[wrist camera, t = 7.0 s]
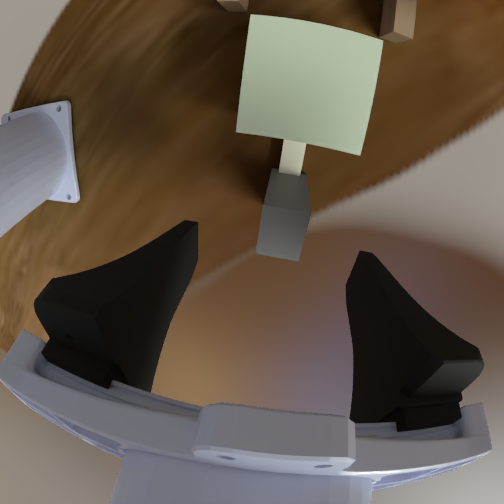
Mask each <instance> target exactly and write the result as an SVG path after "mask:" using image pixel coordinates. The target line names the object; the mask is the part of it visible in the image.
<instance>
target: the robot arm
mask: <svg viewBox="0 0 504 504" xmlns="http://www.w3.org/2000/svg"><path fill="white" fill-rule="evenodd" d="M60 106H61V110H60ZM70 196H71V197H70ZM46 200H55V201H63V202H71V203H76V202H77V201H79V200H80V193H79V187H78V180H77V173H76V165H75V157H74V147H73V135H72V118H71V103H70V102H69V101H68V100H65V101H59V102H54V103H49V104H44V105H39V106H35V107H30V108H26V109H22V110H19V111H15V112H11V113H8V114H5V115H3V117H2V125H0V238H1V237H2V236H3V235H4V234H5V233H6V232H7V231H8V230H10V229H11V228H12V227H13V226H14V225H15V224H17V223H18V222H19V221H20V220H21V219H23V218H24V217H25V216H26V215H27V214H29V213H30V212H31V211H32V210H34V209H35V208H36V207H38V206H39V205H40V204H42V203H43V202H44V201H46ZM197 261H198V222H193V221H187V220H185V221H183V222H181V223H180V224H178V225H176V226H175V227H173V228H172V229H170V230H169V231H167V232H166V233H164V234H162V235H161V236H159V237H158V238H156V239H155V240H153V241H151V242H150V243H148V244H146V245H144V246H143V247H141V248H139V249H138V250H136V251H134V252H132V253H130V254H128V255H126V256H124V257H121V258H119V259H117V260H115V261H112V262H109V263H107V264H104V265H102V266H99V267H96V268H93V269H90V270H87V271H83V272H80V273H76V274H72V275H67V276H62V277H58V278H52V279H51V280H50V282H49V283H48V284H47V285H46V287H45V288H44V289H43V290H42V292H41V293H40V294H39V295H38V297H37V298H36V299H35V301H34V308H35V312H36V315H37V317H38V319H39V320H40V322H41V324H42V325H43V327H44V329H45V331H46V332H47V334H48V335H49V337H50V339H49V340H48V342H47V344H46V343H45V342H44V341H43V340H42V339H40V338H39V337H37V336H35V335H33V334H31V333H29V332H27V331H26V330H22V332H21V333H20V335H19V336H18V338H17V339H16V341H15V342H14V344H13V345H12V347H11V348H10V350H9V352H8V353H7V355H6V356H5V358H4V360H3V361H2V363H1V365H0V381H1V382H2V383H3V384H4V385H5V386H6V387H7V388H8V389H9V390H10V391H11V392H12V393H13V394H15V396H17V397H18V398H19V399H20V400H21V401H22V402H23V403H24V404H26V405H27V406H28V407H30V408H31V409H33V410H34V411H36V412H37V413H39V414H40V415H42V416H43V417H45V418H47V419H48V420H50V421H51V422H53V423H55V424H56V425H58V426H59V427H61V428H63V429H64V430H66V431H68V432H70V433H71V434H73V435H75V436H77V437H79V438H80V439H82V440H84V441H86V442H88V443H90V444H92V445H94V446H96V447H98V448H100V449H102V450H104V451H106V452H108V453H111V454H113V455H115V456H117V457H120V458H122V459H123V461H122V463H121V467H120V470H119V473H118V476H117V479H116V482H115V485H114V489H113V492H112V496H111V499H110V502H109V504H371V503H372V490H375V489H382V488H387V487H392V486H397V485H401V484H406V483H410V482H414V481H418V480H422V479H426V478H430V477H433V476H436V475H439V474H443V473H446V472H449V471H453V470H455V469H457V468H460V467H462V466H464V465H466V464H468V463H470V462H472V461H474V460H476V459H478V458H480V457H482V456H484V455H485V454H487V453H489V452H491V450H492V446H491V440H490V434H489V430H488V425H487V420H486V416H485V411H484V407H483V403H481V402H480V403H475V404H470V405H466V406H463V407H461V408H460V406H459V402H460V401H462V394H461V392H462V391H463V390H464V389H465V388H466V387H468V386H469V385H470V384H471V383H472V382H473V381H474V380H475V379H476V378H477V377H478V376H479V375H480V374H481V372H482V370H483V368H484V362H483V359H482V357H481V354H480V351H479V349H478V348H477V347H476V346H474V345H472V344H470V343H468V342H467V341H465V340H464V339H462V338H460V337H459V336H457V335H456V334H455V333H453V332H452V331H450V330H449V329H447V328H446V327H445V326H443V325H442V324H441V323H439V322H438V321H437V320H436V319H435V318H433V317H432V316H431V315H430V314H429V313H428V312H426V311H425V310H424V309H423V308H422V307H421V306H420V305H419V304H418V303H417V302H416V301H415V300H414V299H413V298H412V297H411V296H410V295H409V294H408V293H407V292H406V290H405V289H404V288H403V287H402V286H401V285H400V284H399V283H398V281H397V280H396V279H395V278H394V277H393V276H392V275H391V273H390V272H389V271H388V270H387V269H386V267H385V266H384V265H383V264H382V263H381V262H380V261H379V259H378V258H377V257H376V256H375V255H374V254H372V253H370V252H365V251H359V254H358V257H357V259H356V262H355V264H354V267H353V269H352V271H351V274H350V277H349V278H348V281H347V283H346V305H347V311H348V317H349V324H350V330H351V337H352V344H353V360H354V361H353V364H354V365H353V366H354V367H353V371H354V372H353V392H352V404H351V412H350V419H348V418H347V417H345V416H340V415H333V414H322V413H307V412H295V411H285V410H276V409H269V408H261V407H255V406H247V405H242V404H230V403H216V404H209V405H207V406H204V407H202V406H197V405H193V404H189V403H185V402H181V401H177V400H174V399H170V398H167V397H163V396H160V395H156V394H153V393H151V389H152V385H153V380H154V376H155V372H156V368H157V364H158V360H159V357H160V353H161V350H162V347H163V343H164V340H165V337H166V334H167V331H168V328H169V325H170V322H171V320H172V318H173V315H174V313H175V311H176V309H177V307H178V305H179V303H180V301H181V299H182V297H183V295H184V293H185V291H186V289H187V287H188V285H189V283H190V280H191V278H192V276H193V273H194V270H195V267H196V264H197Z"/></svg>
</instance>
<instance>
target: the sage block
mask: <svg viewBox="0 0 504 504" xmlns="http://www.w3.org/2000/svg"><path fill="white" fill-rule="evenodd" d="M382 46H383V41H382V40H379V39H376V38H373V37H370V36H367V35H363V34H360V33H356V32H353V31H349V30H345V29H341V28H337V27H333V26H329V25H324V24H319V23H314V22H309V21H303V20H297V19H291V18H283V17H275V16H265V15H252V14H251V16H250V23H249V30H248V37H247V44H246V52H245V59H244V67H243V75H242V83H241V92H240V100H239V109H238V118H237V127H236V132H238V133H246V134H254V135H261V136H267V137H274V138H280V139H284V142H283V148H282V154H281V160H280V166H279V169H275V168H272V170H271V174H270V179H269V183H268V187H267V191H266V195H265V199H264V204H263V209H262V216H261V222H260V229H259V235H258V242H257V248H256V254H260V255H266V256H272V257H278V258H283V259H289V260H294V261H299V258H300V254H301V251H302V247H303V243H304V239H305V235H306V231H307V227H308V224H309V220H310V216H311V208H310V199H309V190H308V182H307V174H303V173H301V168H302V163H303V158H304V153H305V148H306V143H307V144H312V145H317V146H321V147H326V148H331V149H335V150H339V151H343V152H347V153H351V154H355V155H359V156H360V154H361V150H362V146H363V142H364V138H365V134H366V130H367V125H368V121H369V116H370V112H371V107H372V102H373V97H374V92H375V87H376V82H377V76H378V71H379V65H380V59H381V52H382Z"/></svg>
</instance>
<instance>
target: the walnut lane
mask: <svg viewBox="0 0 504 504" xmlns="http://www.w3.org/2000/svg"><path fill="white" fill-rule="evenodd" d="M217 2H219V3H220V4H221V5H222V6H223V7H224V8H225V9H226V10H227V11H228V12H247V9H248V2H249V0H217ZM416 2H417V0H383V10H382V19H381V27H380V34H379V38H382V39H385V40H388V41H390V42H393V43H400V42H404V41H407V40H411V39H413V34H414V25H415V15H416Z"/></svg>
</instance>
